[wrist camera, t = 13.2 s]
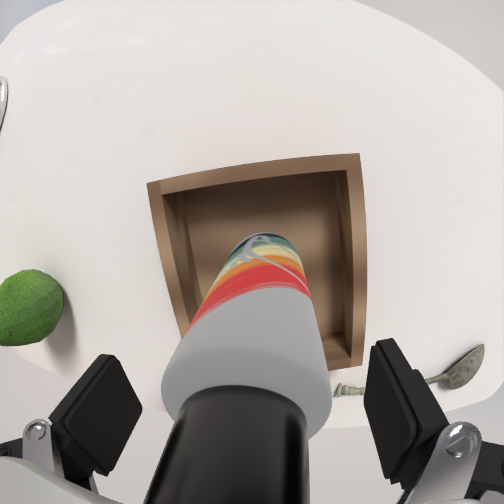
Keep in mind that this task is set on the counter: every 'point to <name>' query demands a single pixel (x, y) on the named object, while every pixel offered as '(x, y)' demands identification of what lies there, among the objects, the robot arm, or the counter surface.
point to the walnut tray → (275, 221)
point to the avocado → (28, 307)
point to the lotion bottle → (246, 386)
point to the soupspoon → (451, 379)
